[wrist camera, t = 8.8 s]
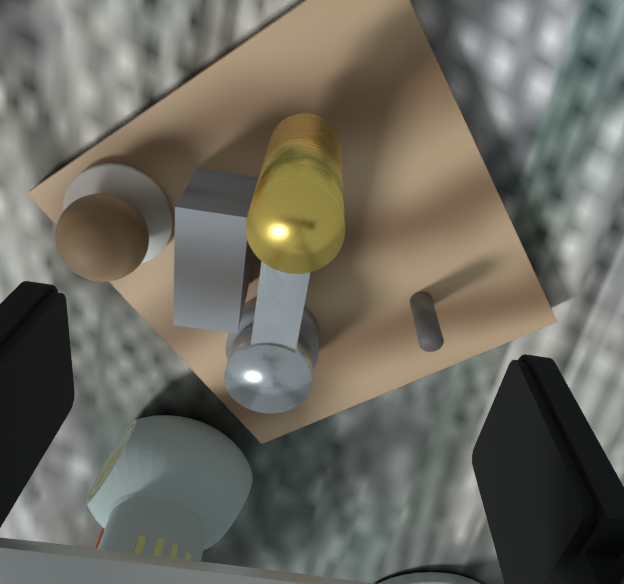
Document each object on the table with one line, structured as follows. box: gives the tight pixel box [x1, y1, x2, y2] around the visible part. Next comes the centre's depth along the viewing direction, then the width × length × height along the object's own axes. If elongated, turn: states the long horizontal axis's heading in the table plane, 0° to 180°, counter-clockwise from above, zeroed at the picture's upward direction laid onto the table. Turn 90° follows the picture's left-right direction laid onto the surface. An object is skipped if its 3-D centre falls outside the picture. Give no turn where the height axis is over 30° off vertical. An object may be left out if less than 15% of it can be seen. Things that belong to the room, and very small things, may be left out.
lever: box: [224, 113, 345, 413], centre depth 23 cm, size 16×4×9 cm, turn 171°
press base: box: [27, 0, 557, 444], centre depth 27 cm, size 20×20×6 cm
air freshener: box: [87, 415, 253, 561], centre depth 34 cm, size 11×8×10 cm
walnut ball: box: [55, 193, 149, 282], centre depth 25 cm, size 4×4×4 cm
